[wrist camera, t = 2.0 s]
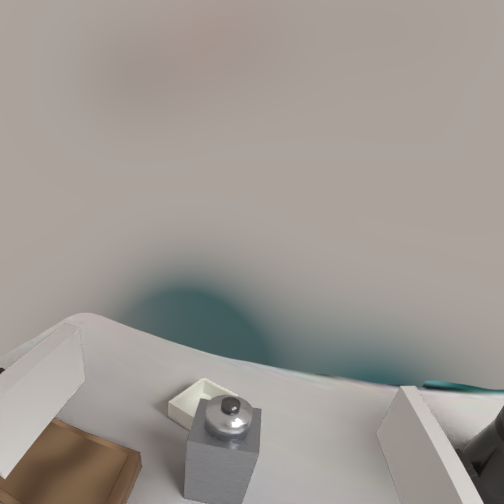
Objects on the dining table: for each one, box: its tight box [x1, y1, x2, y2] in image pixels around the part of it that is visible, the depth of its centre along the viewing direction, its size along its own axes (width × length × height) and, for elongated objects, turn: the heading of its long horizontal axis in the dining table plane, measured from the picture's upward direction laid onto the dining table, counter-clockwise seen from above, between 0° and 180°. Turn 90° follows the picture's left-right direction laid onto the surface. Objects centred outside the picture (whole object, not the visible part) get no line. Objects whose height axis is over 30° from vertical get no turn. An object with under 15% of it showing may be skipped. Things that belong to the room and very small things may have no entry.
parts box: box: [168, 377, 238, 430], centre depth 38 cm, size 8×6×3 cm
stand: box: [0, 418, 142, 504], centre depth 20 cm, size 14×14×3 cm
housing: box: [184, 395, 261, 504], centre depth 25 cm, size 6×6×14 cm
